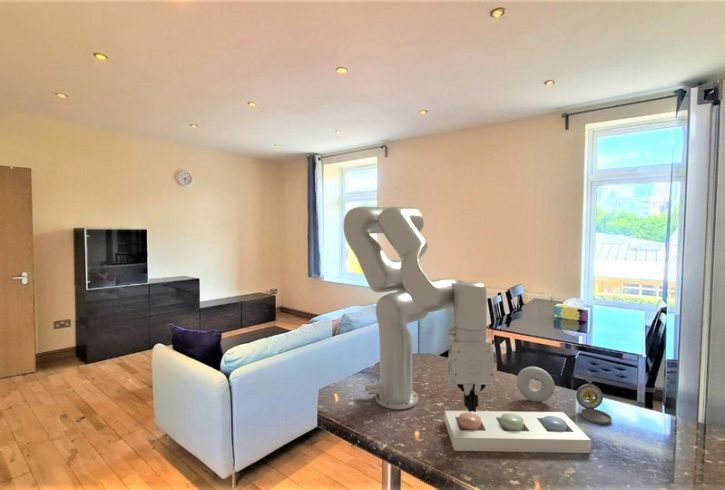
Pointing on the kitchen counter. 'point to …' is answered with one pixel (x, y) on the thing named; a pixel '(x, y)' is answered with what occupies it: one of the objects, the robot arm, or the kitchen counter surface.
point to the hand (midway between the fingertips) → (471, 408)
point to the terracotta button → (470, 421)
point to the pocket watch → (592, 403)
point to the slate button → (554, 424)
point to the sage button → (511, 422)
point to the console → (516, 434)
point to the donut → (535, 394)
